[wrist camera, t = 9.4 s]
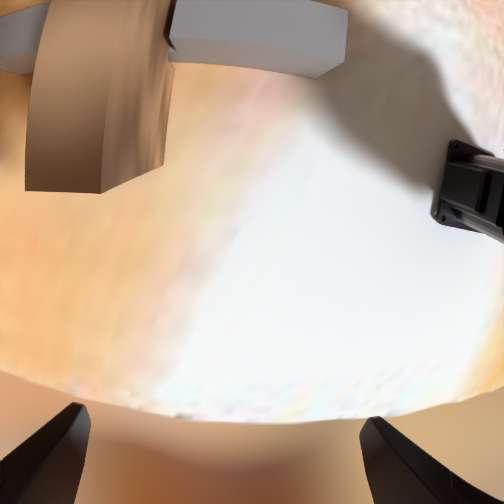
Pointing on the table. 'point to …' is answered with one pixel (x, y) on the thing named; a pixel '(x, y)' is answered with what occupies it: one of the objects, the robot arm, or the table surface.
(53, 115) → the walnut slat
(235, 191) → the table surface
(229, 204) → the table surface
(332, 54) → the notched gray bar
